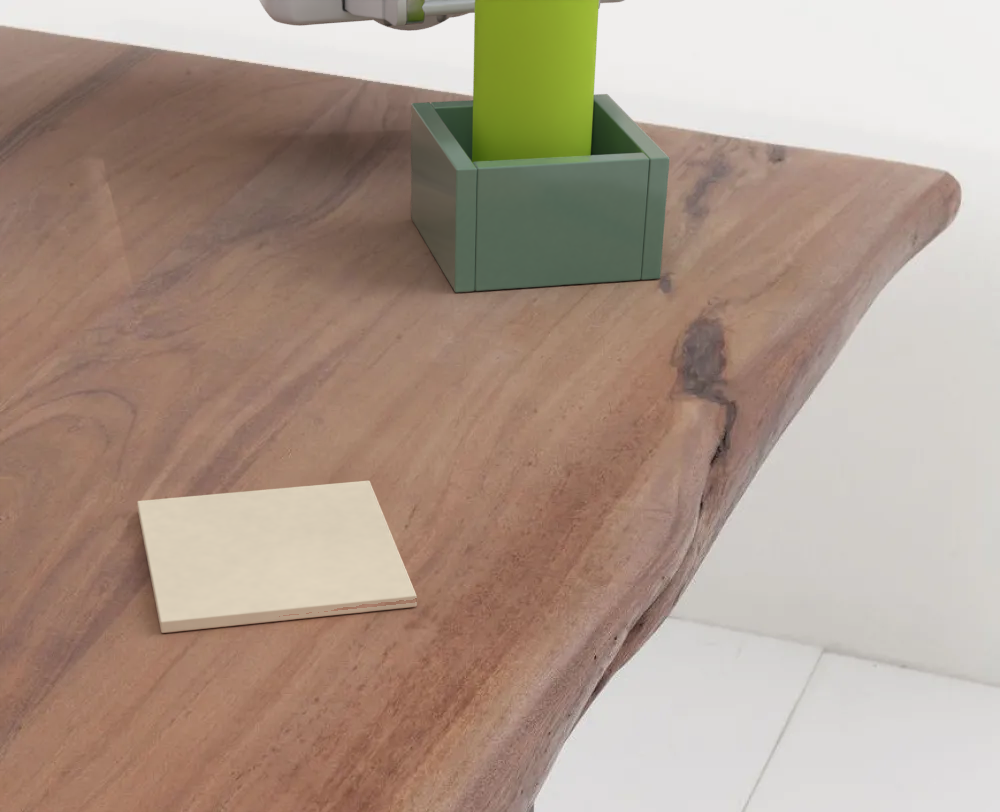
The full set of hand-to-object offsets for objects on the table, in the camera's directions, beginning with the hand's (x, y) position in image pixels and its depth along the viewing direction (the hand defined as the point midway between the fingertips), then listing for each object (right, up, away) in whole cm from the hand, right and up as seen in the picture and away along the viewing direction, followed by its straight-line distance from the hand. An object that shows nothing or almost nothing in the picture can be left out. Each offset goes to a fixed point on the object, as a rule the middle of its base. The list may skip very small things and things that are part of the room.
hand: (501, 1), depth 93 cm
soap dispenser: (+2, -12, +3) cm, 12 cm away
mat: (-8, -30, -24) cm, 39 cm away
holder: (+2, -11, +3) cm, 12 cm away
